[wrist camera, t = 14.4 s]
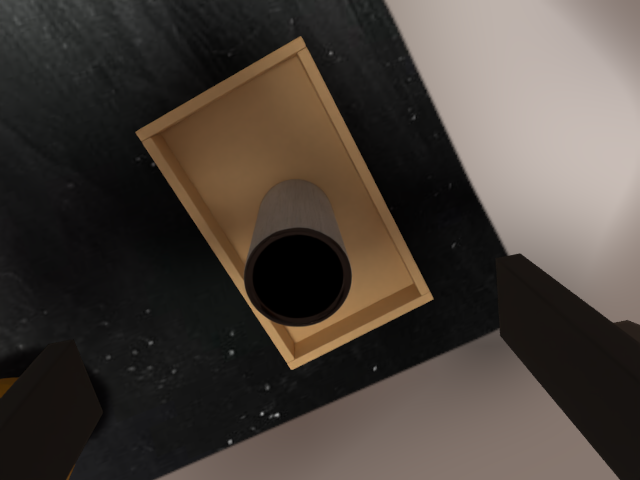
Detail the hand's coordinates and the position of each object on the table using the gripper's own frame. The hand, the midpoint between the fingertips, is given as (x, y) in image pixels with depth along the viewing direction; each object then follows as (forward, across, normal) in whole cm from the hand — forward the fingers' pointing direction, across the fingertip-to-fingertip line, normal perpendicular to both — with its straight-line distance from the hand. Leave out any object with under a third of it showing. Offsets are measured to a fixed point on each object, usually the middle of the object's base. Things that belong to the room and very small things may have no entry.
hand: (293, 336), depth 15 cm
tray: (+16, 0, 0) cm, 16 cm away
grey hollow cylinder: (+16, 0, 0) cm, 16 cm away
